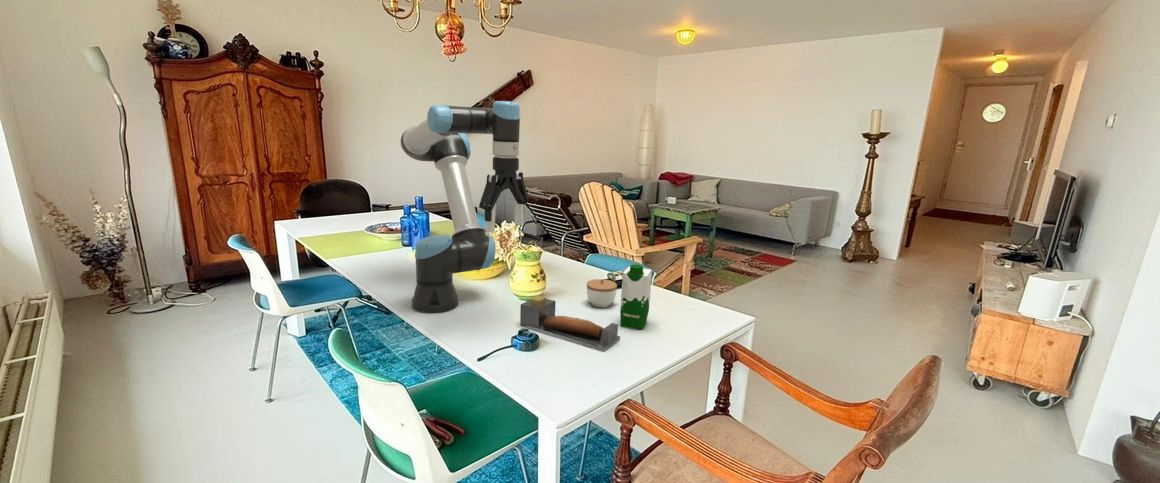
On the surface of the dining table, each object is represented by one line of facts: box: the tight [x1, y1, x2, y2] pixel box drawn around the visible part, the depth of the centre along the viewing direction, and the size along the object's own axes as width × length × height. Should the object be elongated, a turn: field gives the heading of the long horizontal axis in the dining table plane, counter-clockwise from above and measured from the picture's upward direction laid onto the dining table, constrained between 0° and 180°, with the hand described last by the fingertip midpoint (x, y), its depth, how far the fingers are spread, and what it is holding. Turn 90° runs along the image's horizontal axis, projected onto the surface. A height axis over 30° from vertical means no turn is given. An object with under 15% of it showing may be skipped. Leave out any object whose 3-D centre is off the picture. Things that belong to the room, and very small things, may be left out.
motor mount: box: [519, 294, 621, 352], centre depth 145 cm, size 31×10×9 cm, turn 59°
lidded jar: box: [586, 278, 618, 309], centre depth 169 cm, size 11×11×9 cm
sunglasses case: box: [543, 315, 605, 339], centre depth 144 cm, size 18×7×7 cm
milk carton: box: [619, 264, 652, 331], centre depth 152 cm, size 9×9×20 cm
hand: (505, 228), depth 144 cm, fingers open, 13 cm apart
